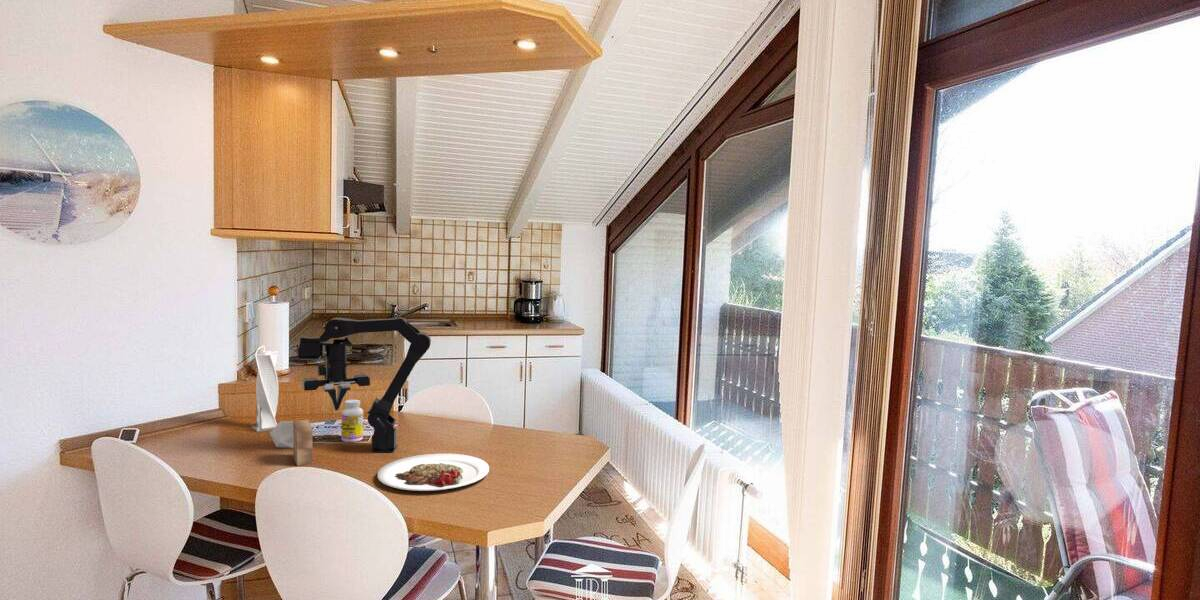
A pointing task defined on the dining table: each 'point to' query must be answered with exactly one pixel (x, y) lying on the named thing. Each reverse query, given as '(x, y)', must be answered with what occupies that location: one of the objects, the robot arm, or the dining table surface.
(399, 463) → the plated food
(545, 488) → the dining table surface
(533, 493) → the dining table surface
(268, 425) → the skyscraper
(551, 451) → the dining table surface
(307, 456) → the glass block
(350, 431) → the supplement bottle
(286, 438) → the die
